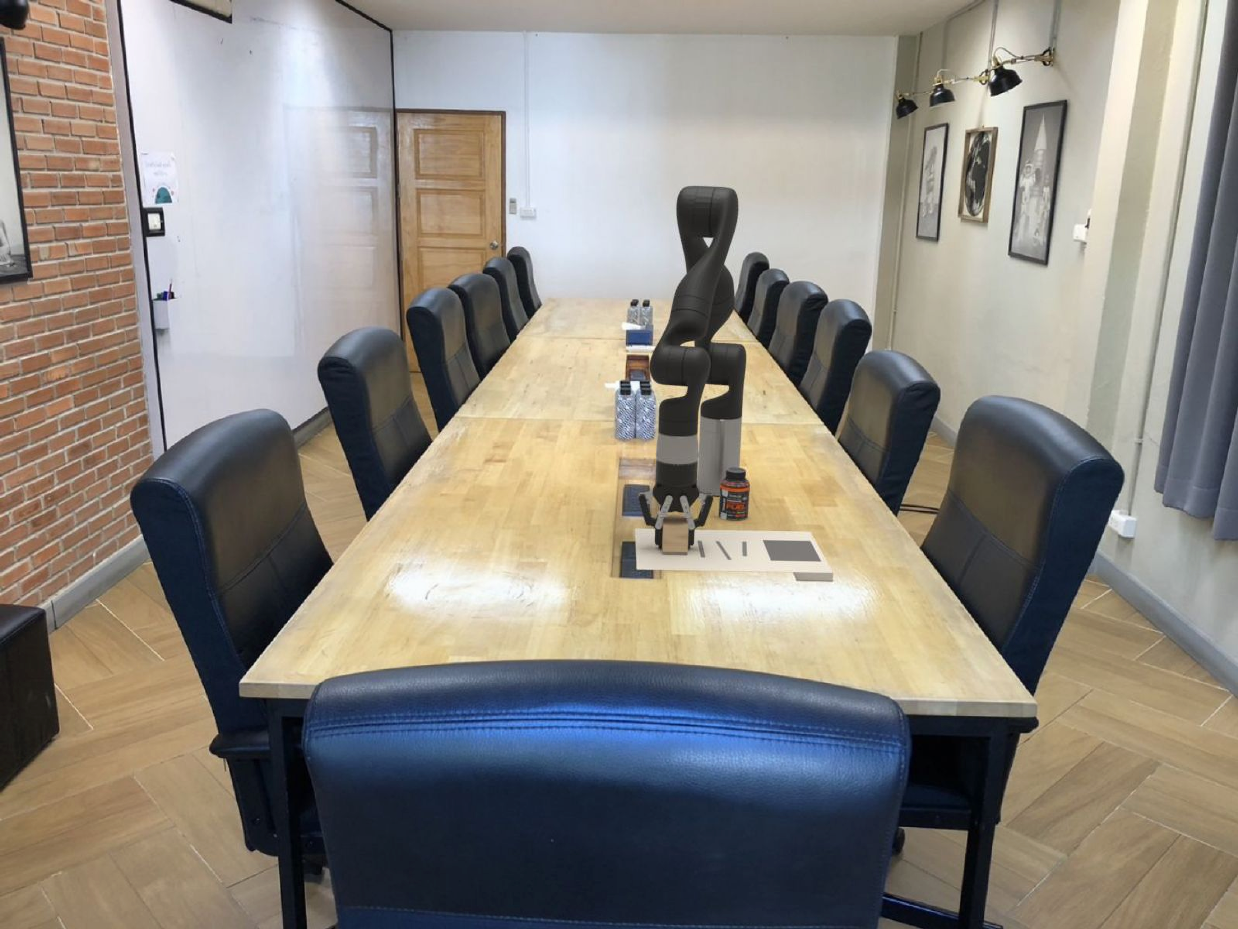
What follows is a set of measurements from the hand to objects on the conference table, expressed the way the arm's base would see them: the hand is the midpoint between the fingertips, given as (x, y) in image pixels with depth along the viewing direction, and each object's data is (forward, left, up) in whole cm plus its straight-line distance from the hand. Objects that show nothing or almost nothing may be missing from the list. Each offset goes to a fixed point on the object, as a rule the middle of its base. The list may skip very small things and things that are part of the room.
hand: (673, 546), depth 187 cm
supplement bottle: (-20, +13, -2) cm, 24 cm away
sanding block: (0, 0, 0) cm, 0 cm away
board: (0, +10, -2) cm, 10 cm away
